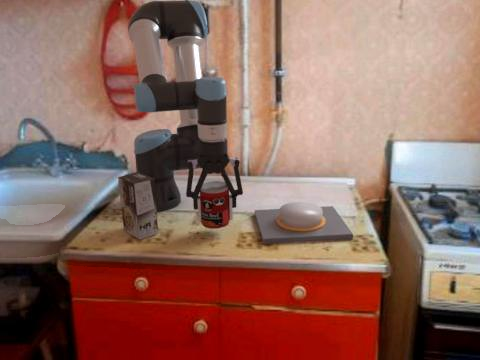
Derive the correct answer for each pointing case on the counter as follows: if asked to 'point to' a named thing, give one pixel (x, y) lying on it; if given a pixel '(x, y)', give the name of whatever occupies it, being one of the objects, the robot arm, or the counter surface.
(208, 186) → the canned food
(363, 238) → the counter surface
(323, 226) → the base
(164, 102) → the robot arm
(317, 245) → the counter surface
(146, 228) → the coffee box
